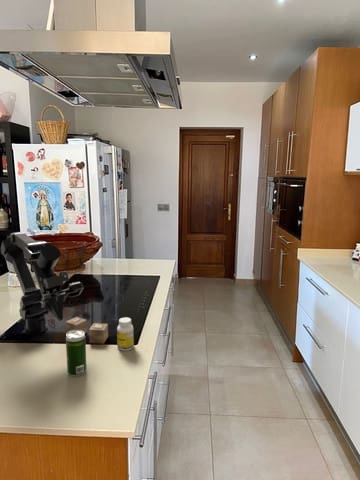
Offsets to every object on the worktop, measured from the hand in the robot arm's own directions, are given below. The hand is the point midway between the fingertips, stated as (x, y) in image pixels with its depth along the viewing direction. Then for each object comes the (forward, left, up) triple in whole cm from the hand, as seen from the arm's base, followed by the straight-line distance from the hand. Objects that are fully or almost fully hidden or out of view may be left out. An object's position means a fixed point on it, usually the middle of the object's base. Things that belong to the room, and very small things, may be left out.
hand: (61, 320), depth 104 cm
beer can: (+9, -5, -13) cm, 16 cm away
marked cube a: (+4, +14, -13) cm, 19 cm away
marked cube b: (-6, +15, -13) cm, 20 cm away
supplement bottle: (+15, +13, -13) cm, 23 cm away
